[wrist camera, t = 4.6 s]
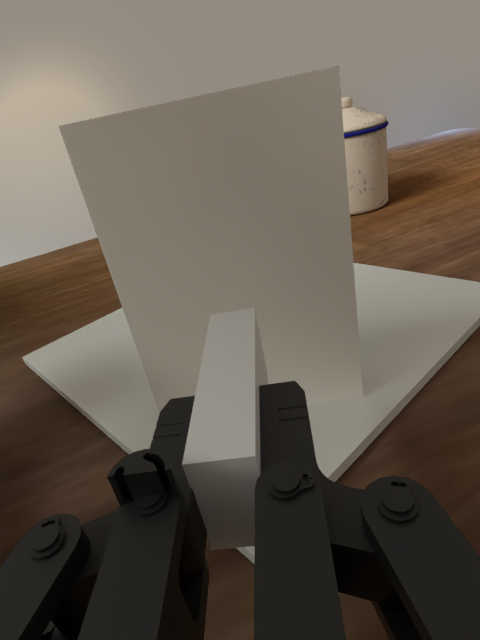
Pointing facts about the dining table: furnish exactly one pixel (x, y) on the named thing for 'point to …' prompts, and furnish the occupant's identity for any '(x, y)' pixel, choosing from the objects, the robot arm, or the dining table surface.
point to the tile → (229, 228)
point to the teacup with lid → (365, 158)
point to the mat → (325, 417)
